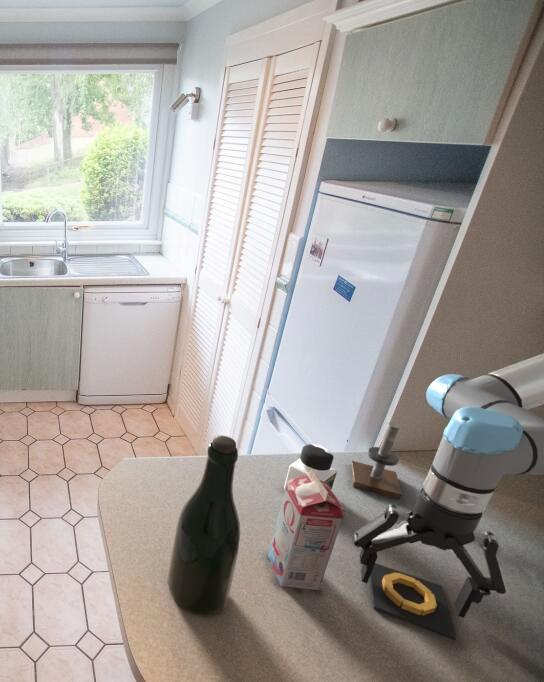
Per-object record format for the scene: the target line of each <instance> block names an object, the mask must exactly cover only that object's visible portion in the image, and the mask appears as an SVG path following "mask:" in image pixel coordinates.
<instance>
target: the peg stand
mask: <svg viewBox="0 0 544 682" xmlns="http://www.w3.org/2000/svg"><path fill="white" fill-rule="evenodd" d="M399 429H400V425H398V424H396V423H394V422H389V423H388V424H387V427H386V429H385V432H384V435H383V437H382V440H381V444H380V446H372V447H371V446H370V447H369V448H368V449H367V453H366V454H367V456H368V458H369V459H371V460H372V461H374V464H373V465H370V464H366V463H362V462H359V461H355V460H351V463H350V473H351V480H352V481H351V482H352V483H351V484H352V487H353V488H357V489H360V490H364V491H366V492H370V493H374V494H378V495H381V496H385V497H389V498H393V499H395V500H399V501H400V500H401V498H402V495H403V494H402V491H401V487H400V483H399V478H398V475H397V472H396V471H393V470H390V469H386V466H388V467H394V466H397V465H398V464H399V461H400V458H399V456H398V455H397V454H396V453H395V452H393V451H392V448H393V446H394V444H395V441H396V439H397V435H398V432H399Z"/></svg>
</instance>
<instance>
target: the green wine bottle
mask: <svg viewBox="0 0 544 682" xmlns="http://www.w3.org/2000/svg"><path fill="white" fill-rule="evenodd" d="M206 453H207V454H206V455H207V456H206V461H205V466H204V470H203V474H202V477H201V480H200V481H199V484H198V485H197V487H196V489H195V490H194V491H193V492H192V494H191V495H190V497H189V498H188V499H187V500H186V502H185V503H184V504H183V507H182V508H181V511H180V513H179V516H178V520H177V525H176V528H175V533H174V539H173V545H172V551H171V556H170V561H169V568H168V574H167V588H168V590H169V593H170V594H171V596H172V599H174V601H175V602H176V603H177V604H178V606H180V607H181V608H182V609H184V610H186V611H188V613H189V612H190V613H192V614H195V615H197V616H202V617H210V616H215V615H217V614H219V613H221V612H222V611H223V610H224V609H225V608H226V607H227V605H228V602H229V600H230V599H229V598H230V595H231V590H232V586H233V580H234V574H235V570H236V565H237V560H238V555H239V554H238V553H239V550H240V549H239V548H240V539H241V521H240V518H239V513H238V510H237V509H238V508H237V506H236V502H235V498H234V476H235V469H236V464H237V462H238V458H239V451H238V448H237V442H236V441H235V439H234V438H232V437H230V436H228V435H215V437H213V439H212V441H211V442H210V443H209V445H208V447H207V451H206Z"/></svg>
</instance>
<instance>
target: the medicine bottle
mask: <svg viewBox="0 0 544 682" xmlns="http://www.w3.org/2000/svg"><path fill="white" fill-rule="evenodd" d="M334 458H335V457H334V454H333V452H332V451H331V450H330V449H328V448H326V447H324V446H322V445H319V444H316V443H315V444H313V443H309V444H306V445H304V446H302V449H301V453H300V457H299V459H297V460H296V461H294V462H293V463H291V464H290V465H289V467H288V470H287V476H286V479H285V482H284V487H283V490H284V491H285V489H286V486H287V482H288V481H289V480H291V479H295V478H298V477H302V476H305V475H309V471H310V467H311V468H312V469H313V471H314V472H315V474H316V475H317V477H318V478H319V480H321V481H323V482H325V483H326V484H327V485H328V486H329V488H330V489H331V490H333V486H334V483H335V479H336V476H337V473H338V470H337V469H335V468H333V467H332V464H333V461H334Z"/></svg>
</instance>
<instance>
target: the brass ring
mask: <svg viewBox="0 0 544 682" xmlns="http://www.w3.org/2000/svg"><path fill="white" fill-rule="evenodd" d="M395 583H401V584H404V585H407V586H410V587H413V588H414V589H415V590H416V591H417V592H418V593H420V594H421V595H422V596H423V597H424V601H425V603H422V604H416V603H414V602H411V601H408V600H405V599H404V598H403V597H402V596H400V595H399V594H398V593H397V592H396V591H395V590H394V589H393V584H395ZM382 584H383V591H384V592H385V594H386V595H387V596H388V597H389V598H390V599H391V600H392V601H393V602H394V603H395V604H396V605H398V606H401V608H402V609H405V610H407V611H410V612H413V613H415V614H418V615H420V614H421V615H422V616H423V615H426V614H429V613H432V612H434V611H435V609H436V607H437V604H436V600H435V596H434V594H432V592H431V591H430V590H429V589H428V588H427V587H425V586H424V585H423V584H422V583H421V582H419V581H418V580H417V581H416V580H415V578H412V577H409V576H406V575H403V574H400V573H396V572H395V573H392V574H388V575H385V576H384V577H383V580H382Z"/></svg>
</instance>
